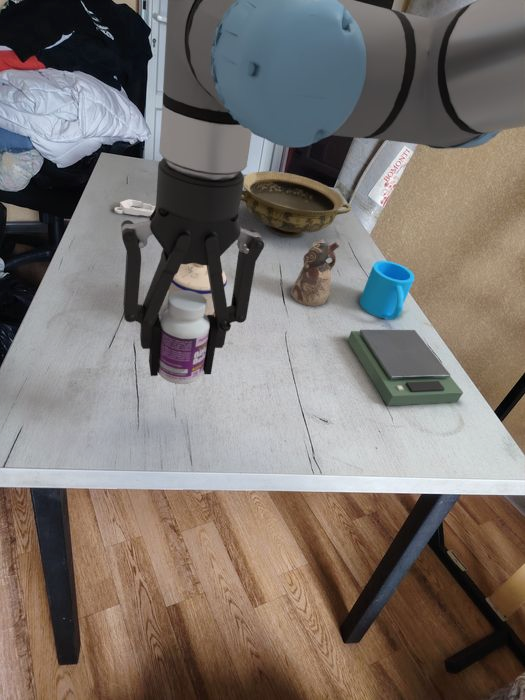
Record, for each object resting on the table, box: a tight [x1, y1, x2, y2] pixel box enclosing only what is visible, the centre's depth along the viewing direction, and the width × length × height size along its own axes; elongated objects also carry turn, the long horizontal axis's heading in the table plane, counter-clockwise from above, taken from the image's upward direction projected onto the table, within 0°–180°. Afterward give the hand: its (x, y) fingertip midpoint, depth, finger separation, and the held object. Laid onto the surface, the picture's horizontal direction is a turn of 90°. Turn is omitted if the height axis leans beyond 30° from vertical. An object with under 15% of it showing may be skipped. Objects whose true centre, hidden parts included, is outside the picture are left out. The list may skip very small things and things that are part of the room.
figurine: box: [290, 238, 340, 307], centre depth 90 cm, size 7×7×12 cm
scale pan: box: [359, 329, 451, 380], centre depth 79 cm, size 12×11×1 cm
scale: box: [347, 330, 464, 407], centre depth 80 cm, size 16×13×3 cm
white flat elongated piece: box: [114, 199, 156, 217], centre depth 108 cm, size 13×5×2 cm, turn 94°
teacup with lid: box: [166, 263, 228, 317], centre depth 77 cm, size 12×9×12 cm
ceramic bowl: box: [241, 170, 352, 237], centre depth 114 cm, size 30×24×10 cm
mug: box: [359, 260, 415, 321], centre depth 92 cm, size 12×8×8 cm
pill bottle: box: [158, 290, 210, 385], centre depth 52 cm, size 5×5×10 cm
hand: (179, 367), depth 55 cm, fingers closed on pill bottle, 5 cm apart
